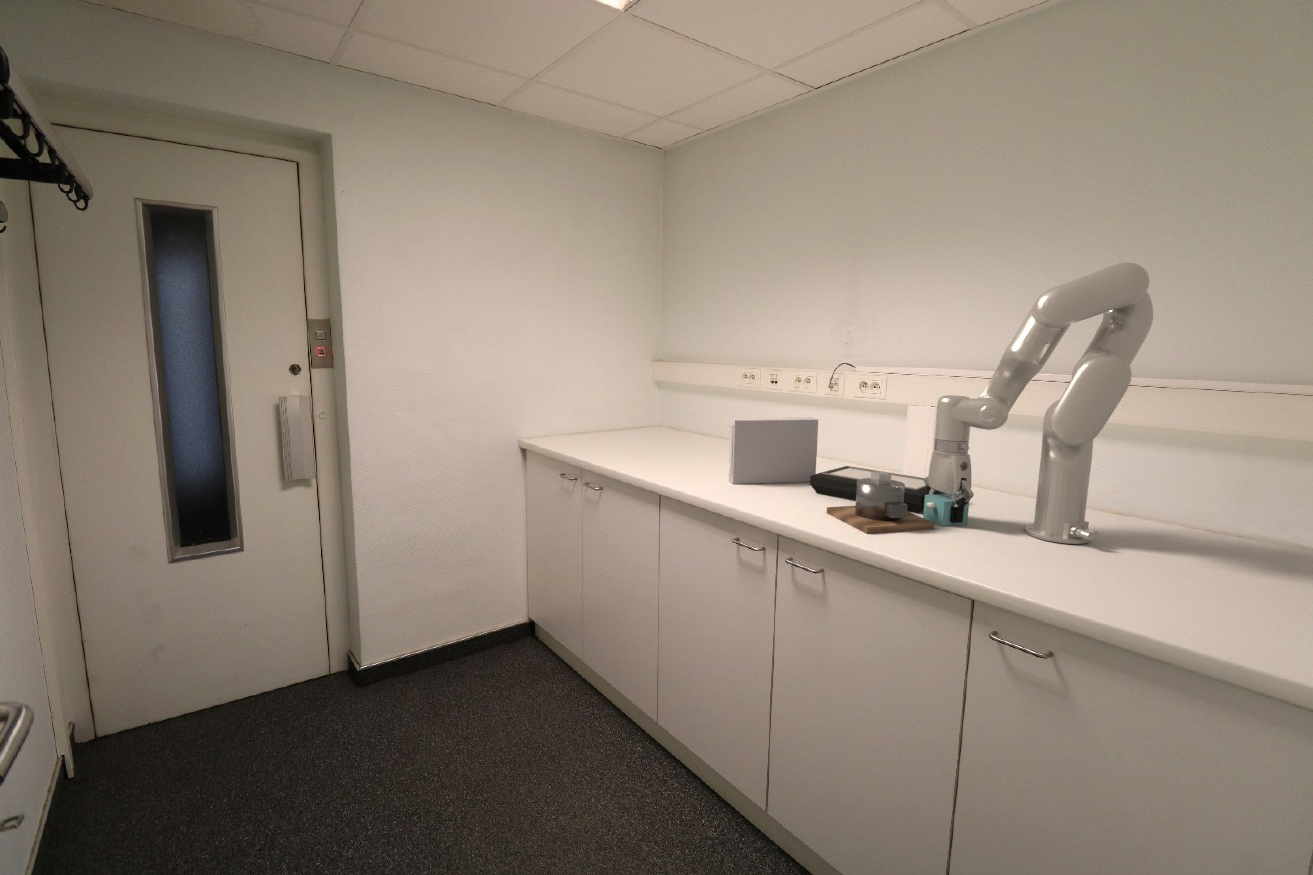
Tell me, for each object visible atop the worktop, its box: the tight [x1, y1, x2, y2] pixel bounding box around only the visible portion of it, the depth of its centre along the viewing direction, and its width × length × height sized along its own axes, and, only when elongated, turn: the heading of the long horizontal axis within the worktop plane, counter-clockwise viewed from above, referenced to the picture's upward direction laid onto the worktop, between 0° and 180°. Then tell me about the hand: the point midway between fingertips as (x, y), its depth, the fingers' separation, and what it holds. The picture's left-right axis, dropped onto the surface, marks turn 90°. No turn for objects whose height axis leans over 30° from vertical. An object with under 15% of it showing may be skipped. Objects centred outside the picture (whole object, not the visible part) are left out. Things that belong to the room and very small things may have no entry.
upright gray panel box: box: [728, 417, 819, 485], centre depth 194 cm, size 6×27×20 cm, turn 100°
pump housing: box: [922, 494, 970, 527], centre depth 151 cm, size 7×9×6 cm
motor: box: [854, 470, 908, 521], centre depth 150 cm, size 14×11×10 cm
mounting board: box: [826, 505, 936, 535], centre depth 152 cm, size 18×18×2 cm
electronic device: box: [809, 465, 946, 514], centre depth 175 cm, size 32×6×20 cm
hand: (945, 517), depth 152 cm, fingers closed on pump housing, 7 cm apart
